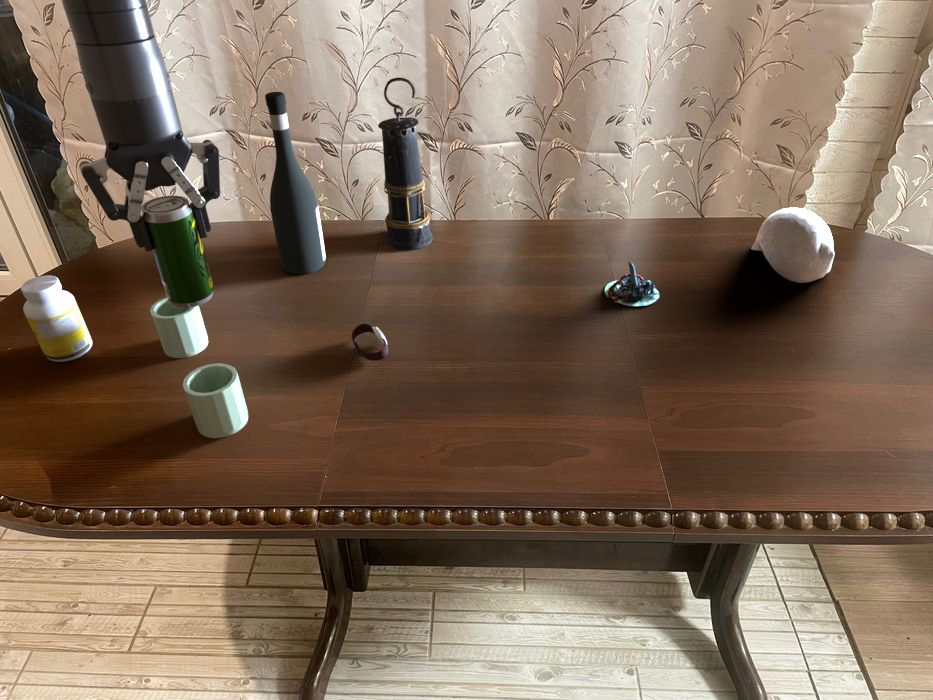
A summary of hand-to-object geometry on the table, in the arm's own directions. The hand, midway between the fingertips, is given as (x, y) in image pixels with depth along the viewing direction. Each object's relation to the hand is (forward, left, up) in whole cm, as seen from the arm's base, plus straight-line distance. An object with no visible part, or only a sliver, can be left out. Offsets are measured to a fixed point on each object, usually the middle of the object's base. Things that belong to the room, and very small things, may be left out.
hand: (175, 241), depth 75 cm
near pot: (-1, -5, -23) cm, 24 cm away
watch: (+22, -1, -24) cm, 32 cm away
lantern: (+44, +28, -24) cm, 57 cm away
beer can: (0, 0, -8) cm, 8 cm away
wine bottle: (+23, +29, -24) cm, 44 cm away
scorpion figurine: (+66, -10, -24) cm, 71 cm away
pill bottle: (-16, +23, -24) cm, 37 cm away
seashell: (+96, -18, -24) cm, 100 cm away
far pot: (-1, +15, -23) cm, 28 cm away
